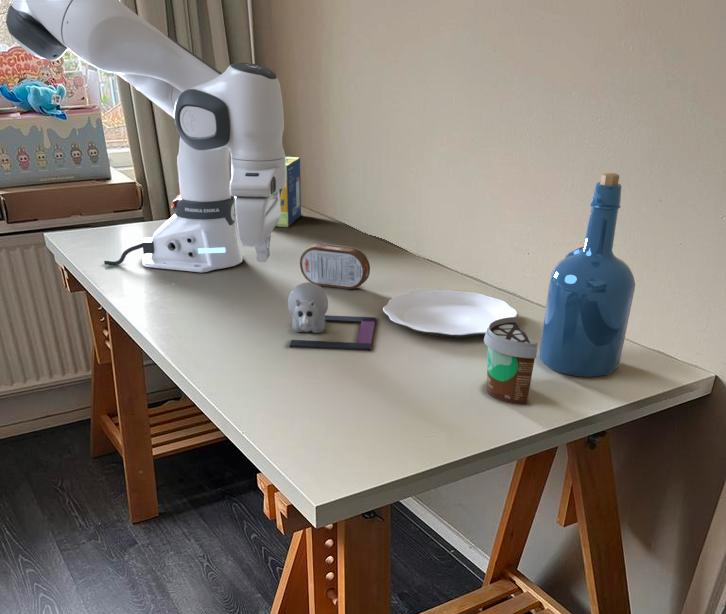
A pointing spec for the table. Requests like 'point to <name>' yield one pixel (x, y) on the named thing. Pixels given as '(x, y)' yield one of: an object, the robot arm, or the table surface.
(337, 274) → the tin
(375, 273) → the table surface
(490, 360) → the food container
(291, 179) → the protein box
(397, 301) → the plate
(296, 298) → the toy rhinoceros
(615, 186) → the wine bottle
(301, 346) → the u-shaped frame
